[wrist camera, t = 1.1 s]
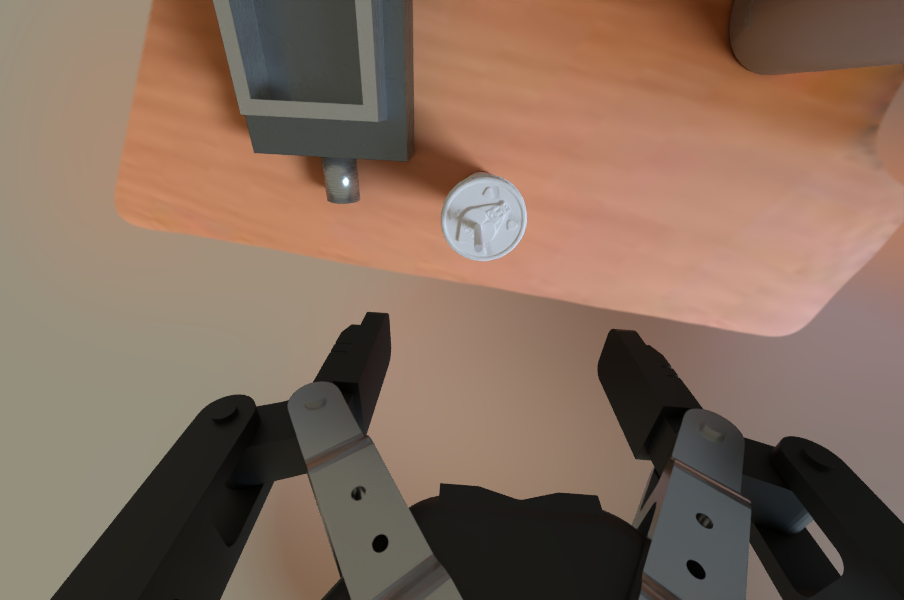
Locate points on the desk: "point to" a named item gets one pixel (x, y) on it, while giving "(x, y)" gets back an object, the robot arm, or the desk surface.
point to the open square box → (324, 80)
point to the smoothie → (483, 217)
